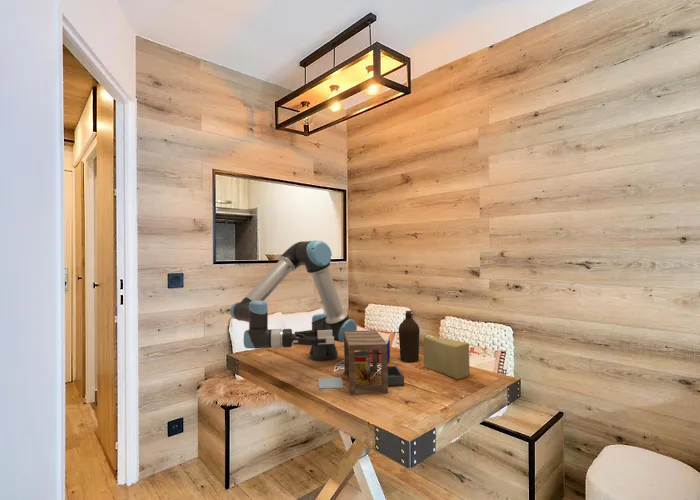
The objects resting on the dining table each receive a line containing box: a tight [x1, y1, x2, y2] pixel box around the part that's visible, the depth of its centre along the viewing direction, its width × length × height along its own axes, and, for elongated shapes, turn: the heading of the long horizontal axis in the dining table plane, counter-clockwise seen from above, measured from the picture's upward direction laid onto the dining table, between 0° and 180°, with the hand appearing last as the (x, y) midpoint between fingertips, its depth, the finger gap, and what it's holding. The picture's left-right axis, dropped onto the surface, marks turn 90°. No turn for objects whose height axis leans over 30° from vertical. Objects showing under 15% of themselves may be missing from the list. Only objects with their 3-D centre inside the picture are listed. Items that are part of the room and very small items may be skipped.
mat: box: [318, 376, 344, 390], centre depth 157 cm, size 12×10×1 cm
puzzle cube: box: [368, 338, 391, 364], centre depth 190 cm, size 10×10×10 cm
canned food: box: [354, 351, 371, 386], centre depth 158 cm, size 8×8×12 cm
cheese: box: [422, 335, 471, 380], centre depth 170 cm, size 22×10×15 cm, turn 39°
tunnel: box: [343, 329, 389, 396], centre depth 158 cm, size 27×15×19 cm, turn 5°
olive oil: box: [398, 310, 420, 363], centre depth 190 cm, size 11×11×25 cm
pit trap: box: [380, 365, 405, 388], centre depth 160 cm, size 14×7×4 cm, turn 5°
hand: (333, 336), depth 157 cm, fingers open, 13 cm apart
